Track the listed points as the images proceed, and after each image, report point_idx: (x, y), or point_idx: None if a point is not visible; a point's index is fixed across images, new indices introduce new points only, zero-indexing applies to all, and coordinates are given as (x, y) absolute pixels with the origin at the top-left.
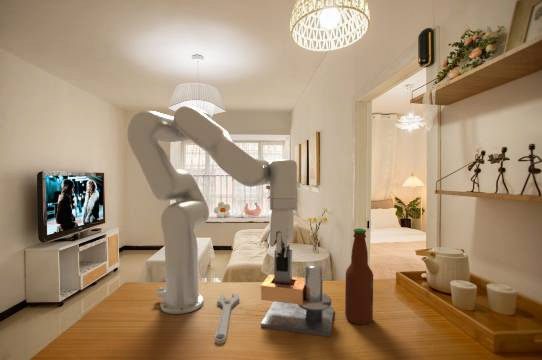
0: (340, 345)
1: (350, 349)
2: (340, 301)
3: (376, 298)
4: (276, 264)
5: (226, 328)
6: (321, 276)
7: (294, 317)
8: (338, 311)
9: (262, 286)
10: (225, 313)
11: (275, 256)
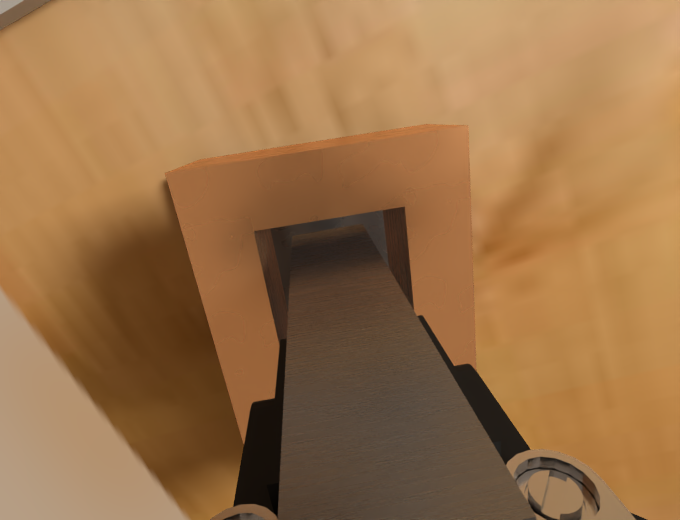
0: (221, 480)
1: (215, 506)
2: (553, 409)
3: None
4: (276, 384)
5: (6, 5)
6: None
7: None
8: None
9: (170, 186)
10: None
11: (285, 458)
